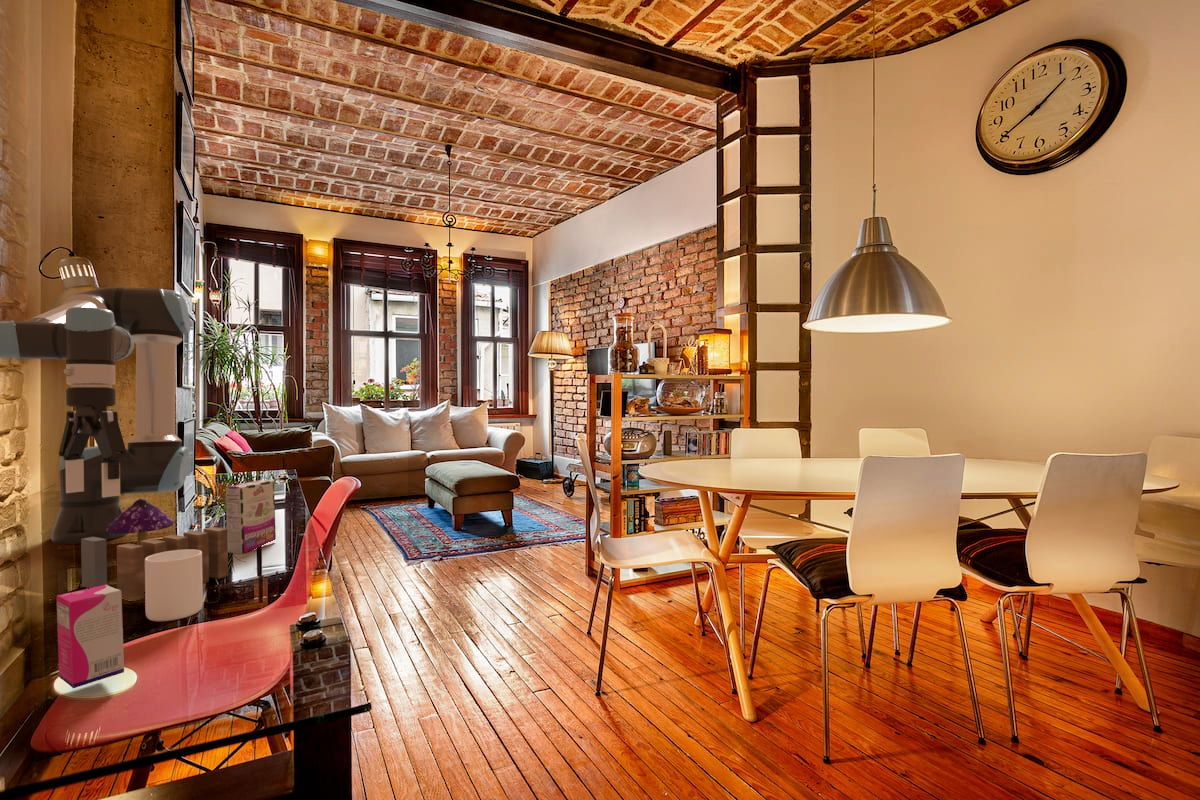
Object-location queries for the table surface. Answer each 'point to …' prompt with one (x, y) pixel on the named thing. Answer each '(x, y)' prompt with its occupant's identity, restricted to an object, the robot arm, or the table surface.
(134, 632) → the table surface
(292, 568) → the table surface
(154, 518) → the decorative mushroom
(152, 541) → the walnut domino
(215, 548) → the walnut domino
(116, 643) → the supplement box
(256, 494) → the candy bar box
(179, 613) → the white oval pot
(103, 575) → the charcoal domino
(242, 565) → the table surface
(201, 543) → the walnut domino
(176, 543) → the walnut domino
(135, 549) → the walnut domino
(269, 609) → the table surface
